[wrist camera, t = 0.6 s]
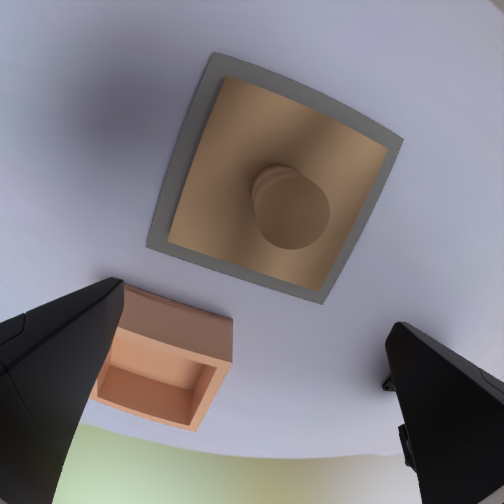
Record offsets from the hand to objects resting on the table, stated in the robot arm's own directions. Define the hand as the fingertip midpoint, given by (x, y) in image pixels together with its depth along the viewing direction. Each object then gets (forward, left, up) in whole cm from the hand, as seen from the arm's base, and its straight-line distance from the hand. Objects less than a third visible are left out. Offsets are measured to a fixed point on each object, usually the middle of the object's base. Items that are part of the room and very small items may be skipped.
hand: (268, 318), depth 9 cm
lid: (-1, -2, -12) cm, 12 cm away
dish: (+3, +14, -12) cm, 19 cm away
